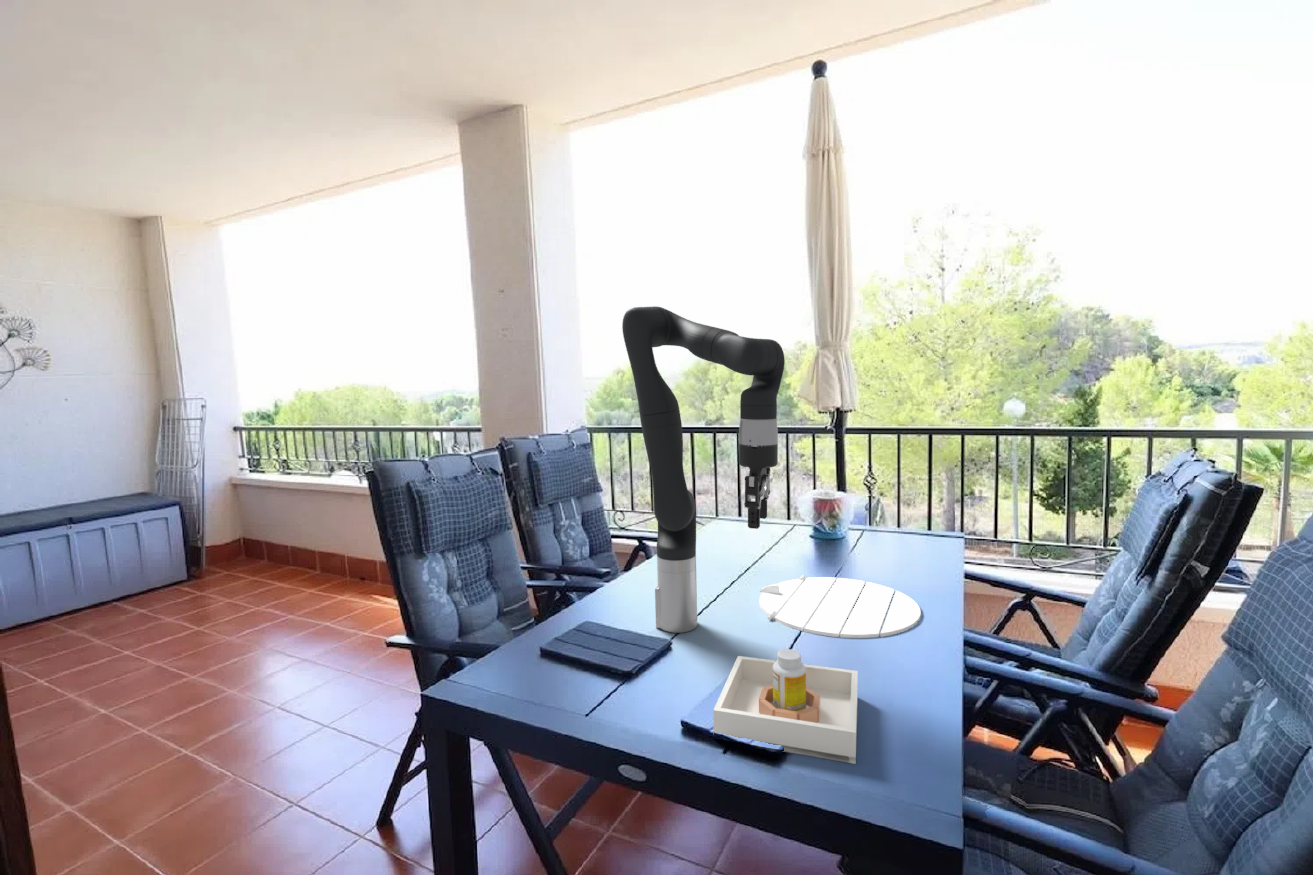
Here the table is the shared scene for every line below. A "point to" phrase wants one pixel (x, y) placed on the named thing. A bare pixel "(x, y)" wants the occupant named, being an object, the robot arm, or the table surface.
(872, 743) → the table surface
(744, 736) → the walled box
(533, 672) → the table surface
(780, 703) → the supplement bottle
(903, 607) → the white round slatted board
